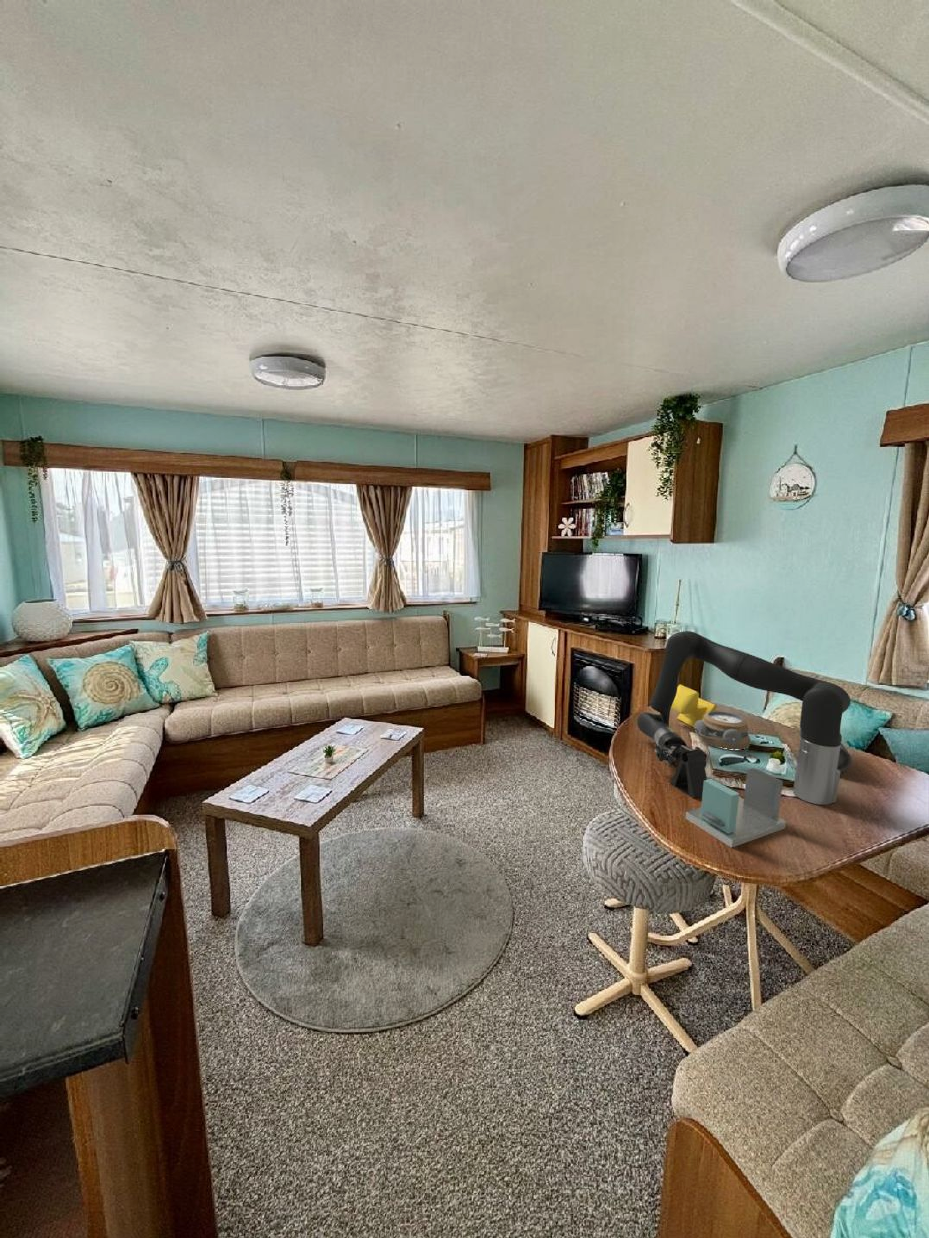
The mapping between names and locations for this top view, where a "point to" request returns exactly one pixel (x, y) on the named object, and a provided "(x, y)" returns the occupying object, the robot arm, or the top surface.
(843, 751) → the bluetooth speaker
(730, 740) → the alarm clock
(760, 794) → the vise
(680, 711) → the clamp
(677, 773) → the phone stand
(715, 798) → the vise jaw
